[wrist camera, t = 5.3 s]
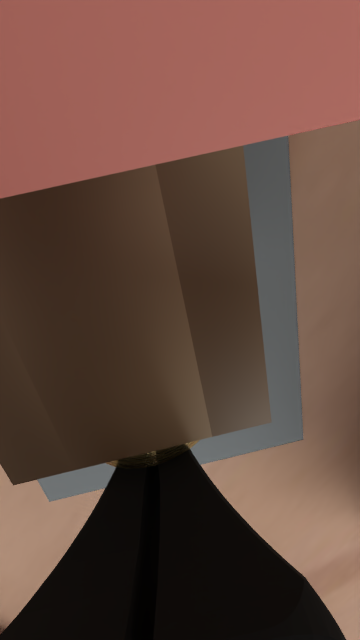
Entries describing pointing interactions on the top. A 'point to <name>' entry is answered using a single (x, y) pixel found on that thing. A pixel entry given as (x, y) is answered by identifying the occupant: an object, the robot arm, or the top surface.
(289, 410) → the mat
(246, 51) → the strip
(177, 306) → the block
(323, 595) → the top surface
